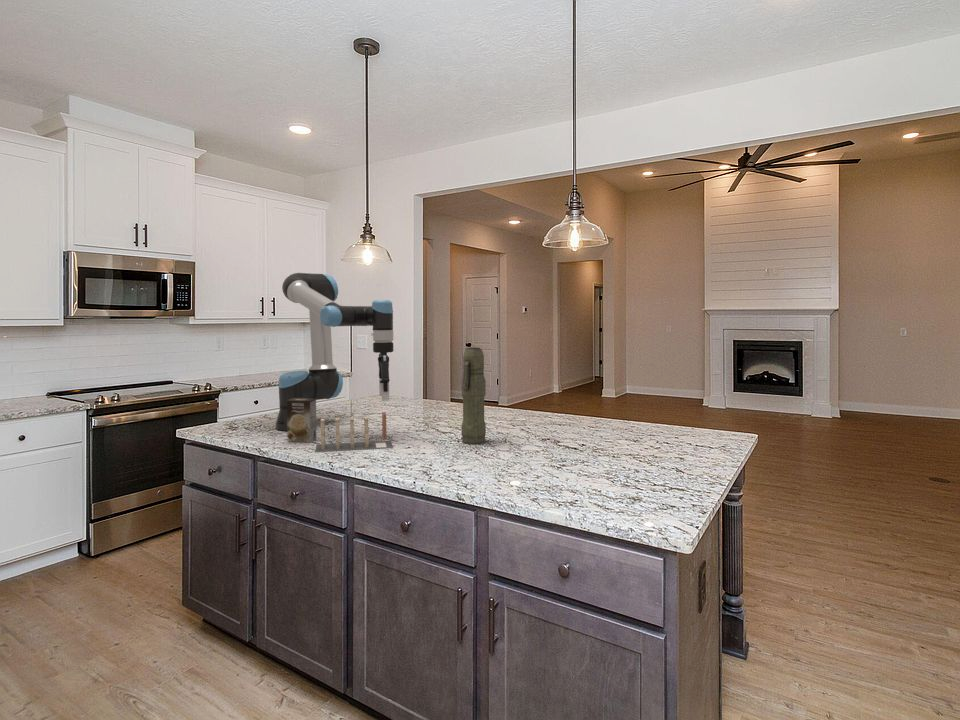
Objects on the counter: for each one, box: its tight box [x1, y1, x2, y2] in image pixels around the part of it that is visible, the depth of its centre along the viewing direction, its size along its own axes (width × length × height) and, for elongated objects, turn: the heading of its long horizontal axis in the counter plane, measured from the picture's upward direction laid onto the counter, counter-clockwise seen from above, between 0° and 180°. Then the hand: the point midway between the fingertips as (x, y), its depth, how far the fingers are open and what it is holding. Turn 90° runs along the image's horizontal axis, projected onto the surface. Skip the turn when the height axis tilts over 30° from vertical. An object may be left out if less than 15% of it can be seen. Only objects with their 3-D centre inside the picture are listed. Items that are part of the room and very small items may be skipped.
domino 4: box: [363, 416, 370, 448], centre depth 197 cm, size 5×1×10 cm, turn 14°
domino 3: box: [349, 416, 355, 448], centre depth 196 cm, size 5×1×10 cm, turn 14°
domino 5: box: [381, 411, 388, 441], centre depth 209 cm, size 5×1×10 cm, turn 14°
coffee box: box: [286, 398, 317, 444], centre depth 205 cm, size 9×6×16 cm
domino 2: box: [334, 417, 341, 449], centre depth 194 cm, size 5×1×10 cm, turn 14°
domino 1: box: [320, 418, 326, 450], centre depth 193 cm, size 5×1×10 cm, turn 14°
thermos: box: [461, 346, 487, 445], centre depth 204 cm, size 9×12×35 cm
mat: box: [314, 440, 394, 453], centre depth 197 cm, size 12×26×1 cm, turn 104°
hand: (384, 398), depth 208 cm, fingers open, 13 cm apart
